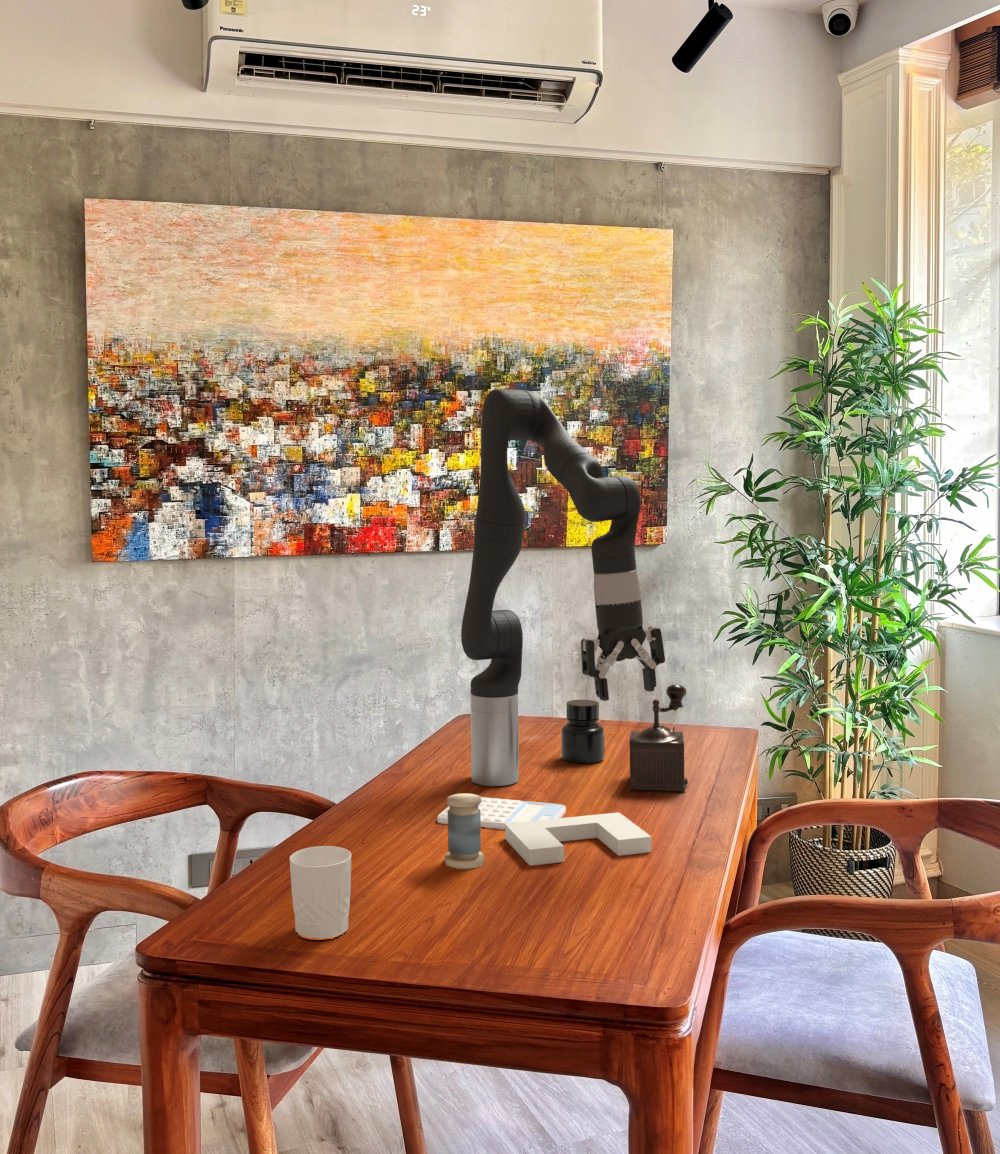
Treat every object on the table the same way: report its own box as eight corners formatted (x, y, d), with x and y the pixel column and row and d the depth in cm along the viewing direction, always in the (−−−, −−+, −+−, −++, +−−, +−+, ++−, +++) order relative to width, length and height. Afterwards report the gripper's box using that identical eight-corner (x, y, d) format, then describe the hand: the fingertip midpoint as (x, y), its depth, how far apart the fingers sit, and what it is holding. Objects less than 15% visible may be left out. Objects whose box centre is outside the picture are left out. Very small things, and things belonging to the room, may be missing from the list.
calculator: (461, 803, 197) (461, 793, 196) (567, 813, 191) (567, 802, 190) (435, 825, 184) (434, 815, 184) (548, 836, 178) (548, 825, 178)
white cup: (294, 919, 143) (292, 846, 143) (354, 917, 144) (352, 844, 143) (288, 945, 136) (286, 867, 135) (351, 942, 136) (349, 865, 135)
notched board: (505, 838, 175) (504, 823, 175) (619, 826, 181) (619, 812, 181) (529, 865, 163) (529, 849, 163) (651, 852, 169) (651, 836, 168)
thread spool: (440, 857, 167) (440, 794, 166) (478, 853, 168) (477, 791, 168) (450, 871, 161) (449, 805, 160) (488, 866, 163) (488, 802, 162)
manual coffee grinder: (688, 793, 200) (689, 698, 199) (628, 791, 202) (629, 697, 200) (685, 771, 215) (686, 682, 214) (630, 769, 217) (630, 681, 215)
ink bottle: (613, 757, 227) (613, 701, 225) (593, 767, 219) (593, 709, 218) (572, 751, 232) (572, 696, 231) (552, 760, 224) (551, 704, 223)
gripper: (644, 591, 183) (652, 684, 184) (568, 603, 177) (578, 699, 179) (667, 594, 176) (675, 691, 177) (589, 606, 171) (598, 706, 172)
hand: (626, 695), depth 178 cm, fingers open, 8 cm apart
